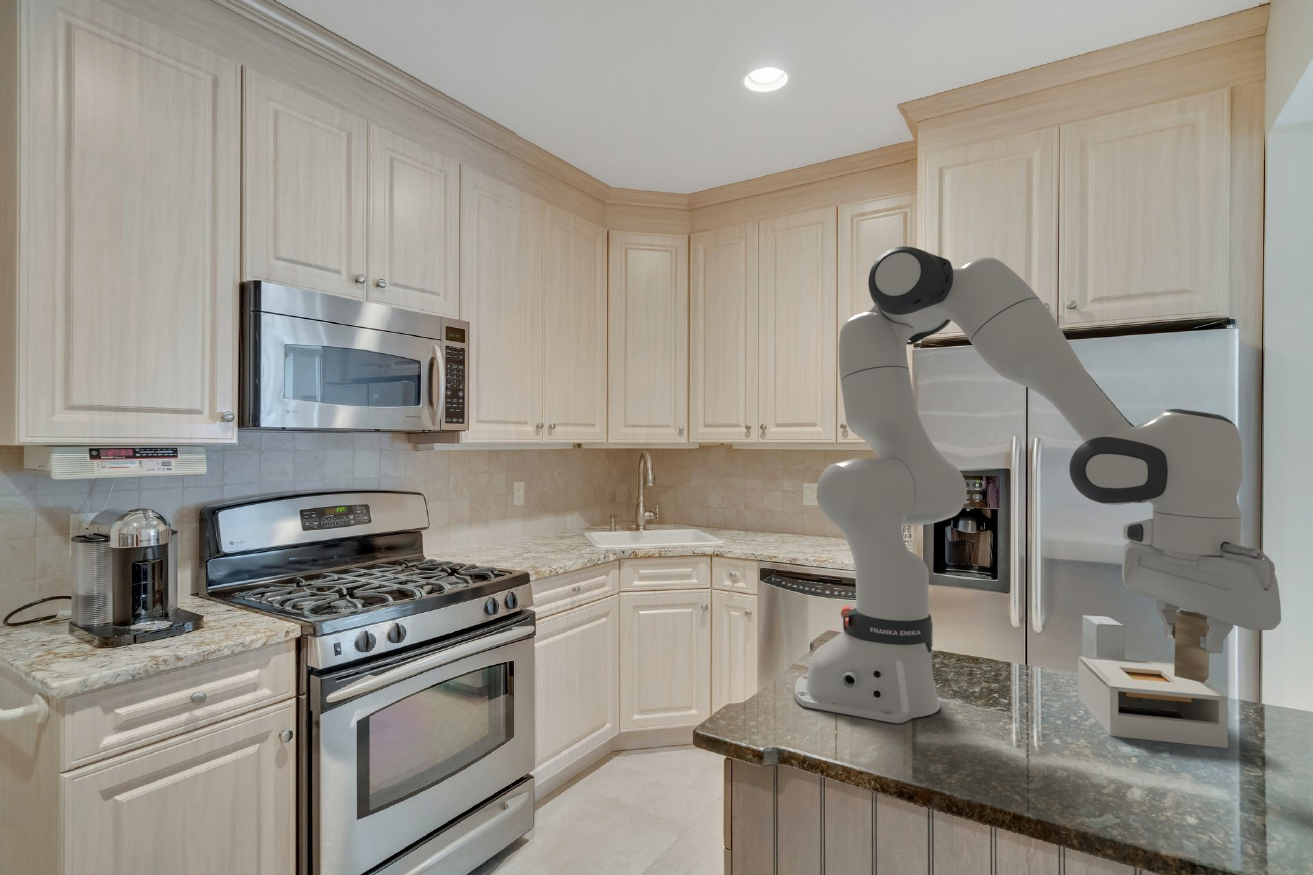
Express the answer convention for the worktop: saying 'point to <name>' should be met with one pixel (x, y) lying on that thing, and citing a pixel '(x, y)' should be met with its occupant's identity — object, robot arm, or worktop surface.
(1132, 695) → the button
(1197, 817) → the worktop surface
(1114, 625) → the skincare box
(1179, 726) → the box
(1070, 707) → the worktop surface
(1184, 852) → the worktop surface
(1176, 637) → the brown wooden block
